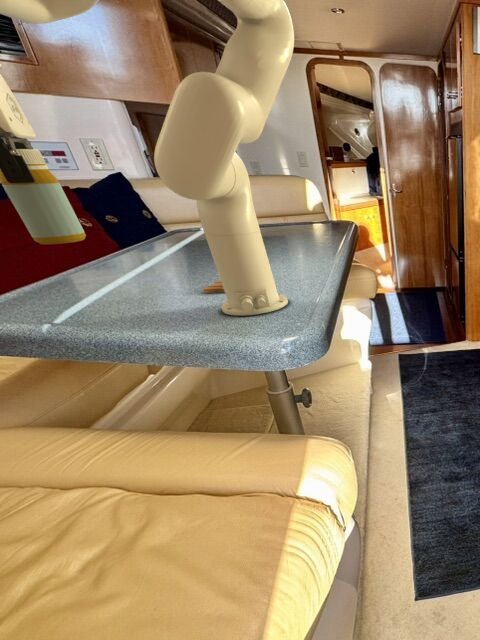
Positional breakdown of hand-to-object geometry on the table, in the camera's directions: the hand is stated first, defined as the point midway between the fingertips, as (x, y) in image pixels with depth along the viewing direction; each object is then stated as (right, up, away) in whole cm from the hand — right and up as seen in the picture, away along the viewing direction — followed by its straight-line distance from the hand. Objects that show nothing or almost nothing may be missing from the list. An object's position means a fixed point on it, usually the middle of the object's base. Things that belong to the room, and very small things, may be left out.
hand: (30, 181), depth 70 cm
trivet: (+14, -12, +30) cm, 35 cm away
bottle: (0, -9, +5) cm, 10 cm away
